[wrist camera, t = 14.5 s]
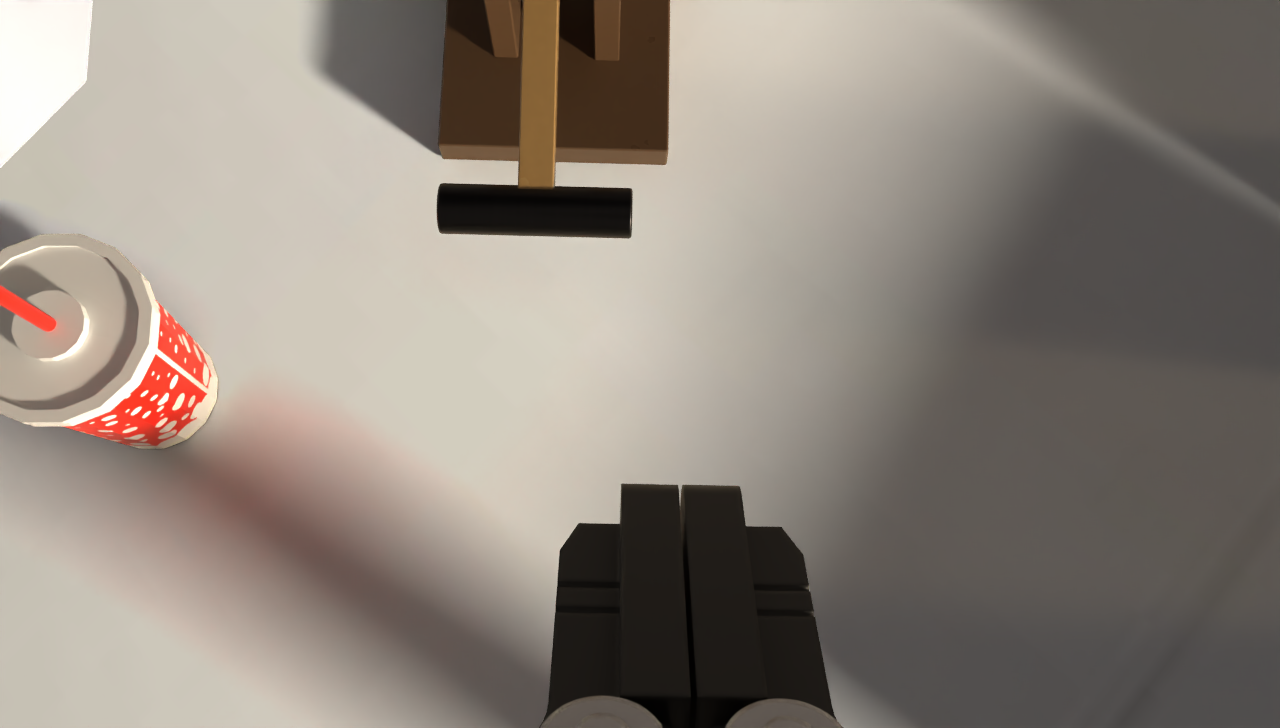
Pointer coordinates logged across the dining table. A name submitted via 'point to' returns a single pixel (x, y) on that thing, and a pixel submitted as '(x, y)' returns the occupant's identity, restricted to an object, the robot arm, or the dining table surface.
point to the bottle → (39, 64)
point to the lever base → (559, 81)
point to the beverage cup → (96, 347)
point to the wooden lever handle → (536, 162)
